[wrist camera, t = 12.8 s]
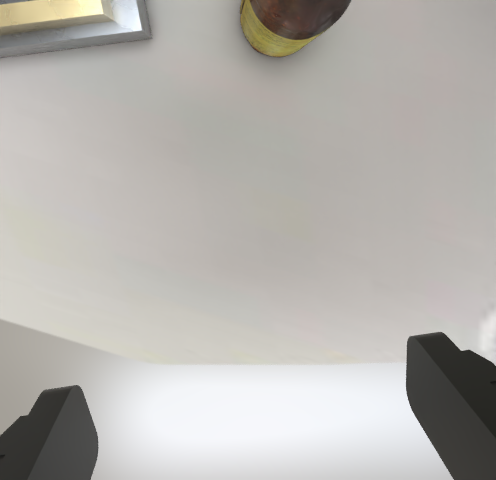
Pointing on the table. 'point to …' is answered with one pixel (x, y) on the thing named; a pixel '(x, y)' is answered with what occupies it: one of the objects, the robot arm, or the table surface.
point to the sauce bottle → (287, 23)
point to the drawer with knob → (69, 24)
